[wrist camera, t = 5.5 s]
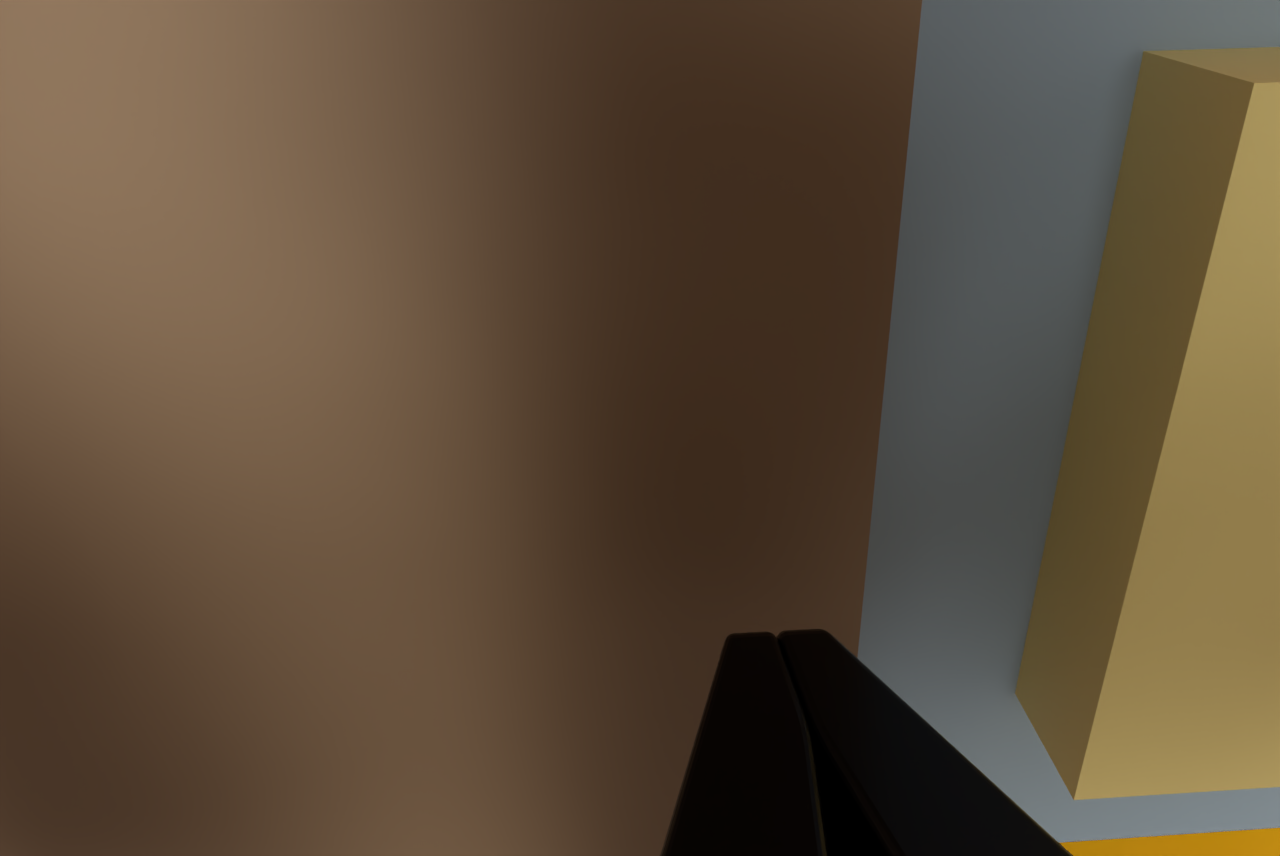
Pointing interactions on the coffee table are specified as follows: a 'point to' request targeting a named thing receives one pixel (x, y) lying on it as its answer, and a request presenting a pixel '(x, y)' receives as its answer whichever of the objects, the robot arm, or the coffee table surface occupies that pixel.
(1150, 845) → the coffee table surface
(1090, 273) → the mat
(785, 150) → the deck
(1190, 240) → the bevelled yellow tile
